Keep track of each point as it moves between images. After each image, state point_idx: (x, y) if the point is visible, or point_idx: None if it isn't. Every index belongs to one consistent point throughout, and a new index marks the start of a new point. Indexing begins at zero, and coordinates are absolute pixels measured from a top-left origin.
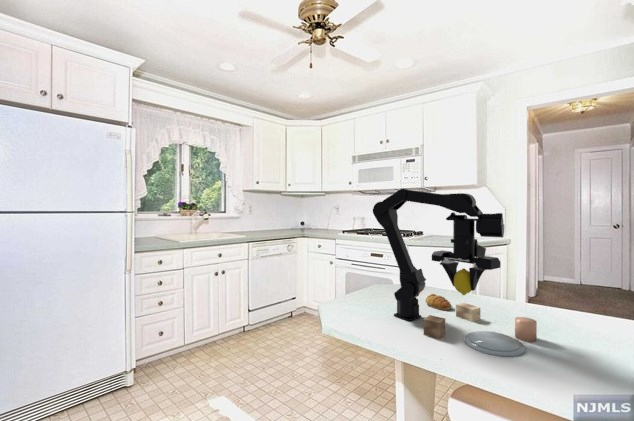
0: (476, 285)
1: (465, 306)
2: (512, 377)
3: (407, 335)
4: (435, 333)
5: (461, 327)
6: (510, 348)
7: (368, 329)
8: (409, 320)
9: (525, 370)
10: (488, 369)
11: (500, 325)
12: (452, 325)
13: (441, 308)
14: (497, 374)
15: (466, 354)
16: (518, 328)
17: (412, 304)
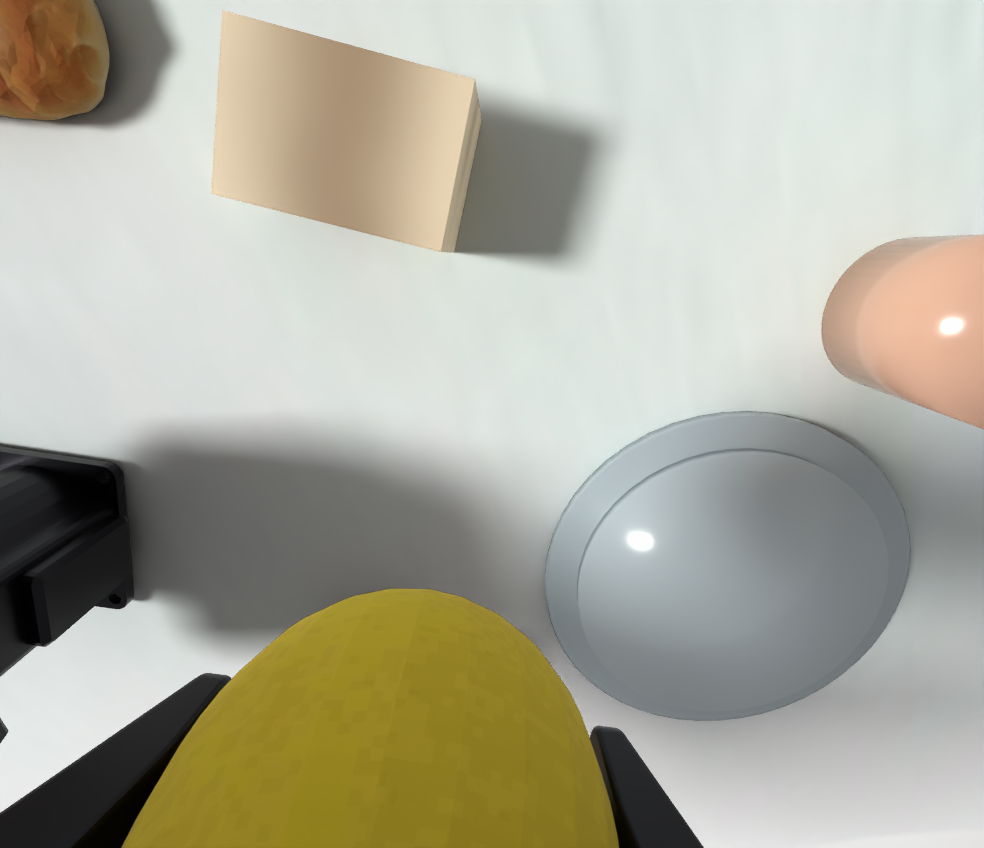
0: (678, 824)
1: (327, 183)
2: (855, 830)
3: None
4: None
5: (448, 445)
6: (842, 650)
7: None
8: (131, 596)
9: (903, 750)
10: (757, 829)
11: (678, 147)
12: (381, 453)
13: (54, 115)
14: (797, 842)
15: None
16: (913, 402)
17: (22, 652)
